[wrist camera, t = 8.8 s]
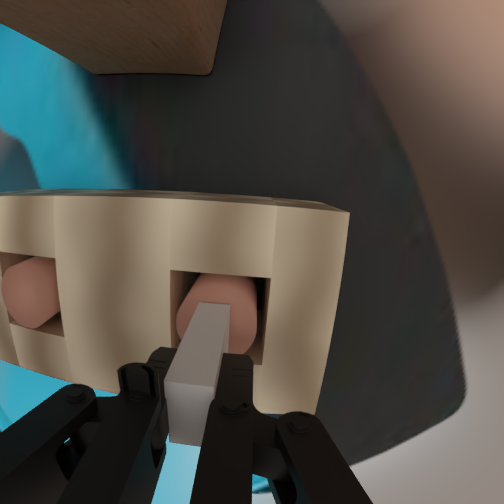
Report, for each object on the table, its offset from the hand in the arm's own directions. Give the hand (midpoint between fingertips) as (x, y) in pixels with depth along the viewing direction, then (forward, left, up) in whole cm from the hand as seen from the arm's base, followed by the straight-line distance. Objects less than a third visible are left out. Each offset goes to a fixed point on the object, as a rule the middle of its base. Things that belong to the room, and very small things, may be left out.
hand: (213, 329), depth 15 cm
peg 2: (0, 0, -9) cm, 9 cm away
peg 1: (-12, 0, -9) cm, 15 cm away
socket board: (-6, 0, -9) cm, 11 cm away
